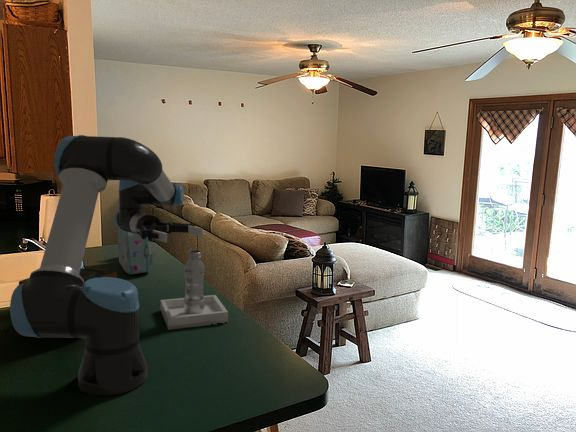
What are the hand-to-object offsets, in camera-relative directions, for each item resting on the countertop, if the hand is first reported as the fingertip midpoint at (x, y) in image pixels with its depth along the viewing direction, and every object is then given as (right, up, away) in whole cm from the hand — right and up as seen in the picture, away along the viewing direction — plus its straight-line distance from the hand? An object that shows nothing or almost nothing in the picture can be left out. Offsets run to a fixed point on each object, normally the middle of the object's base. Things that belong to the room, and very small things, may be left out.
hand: (184, 235), depth 147 cm
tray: (+2, -26, +1) cm, 26 cm away
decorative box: (-31, -26, -9) cm, 42 cm away
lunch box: (-32, -16, +49) cm, 60 cm away
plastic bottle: (+3, -25, +1) cm, 25 cm away
